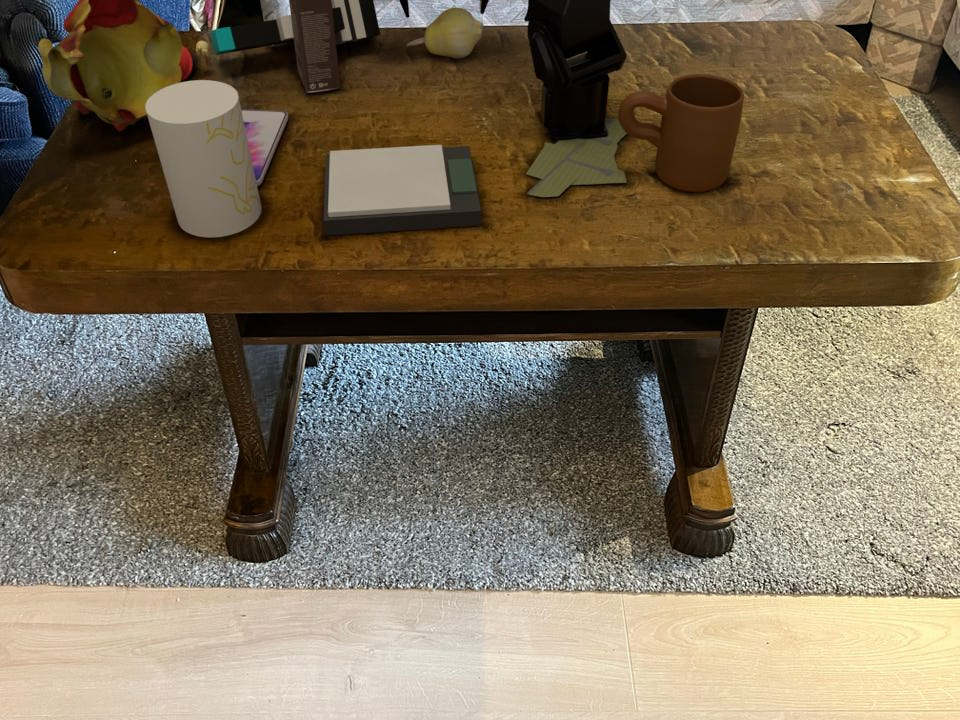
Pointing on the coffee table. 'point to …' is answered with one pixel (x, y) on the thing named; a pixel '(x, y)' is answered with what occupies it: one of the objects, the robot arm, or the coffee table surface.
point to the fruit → (452, 34)
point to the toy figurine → (192, 58)
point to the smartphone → (263, 137)
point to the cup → (205, 157)
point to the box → (315, 44)
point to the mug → (689, 129)
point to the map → (578, 162)
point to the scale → (399, 189)
